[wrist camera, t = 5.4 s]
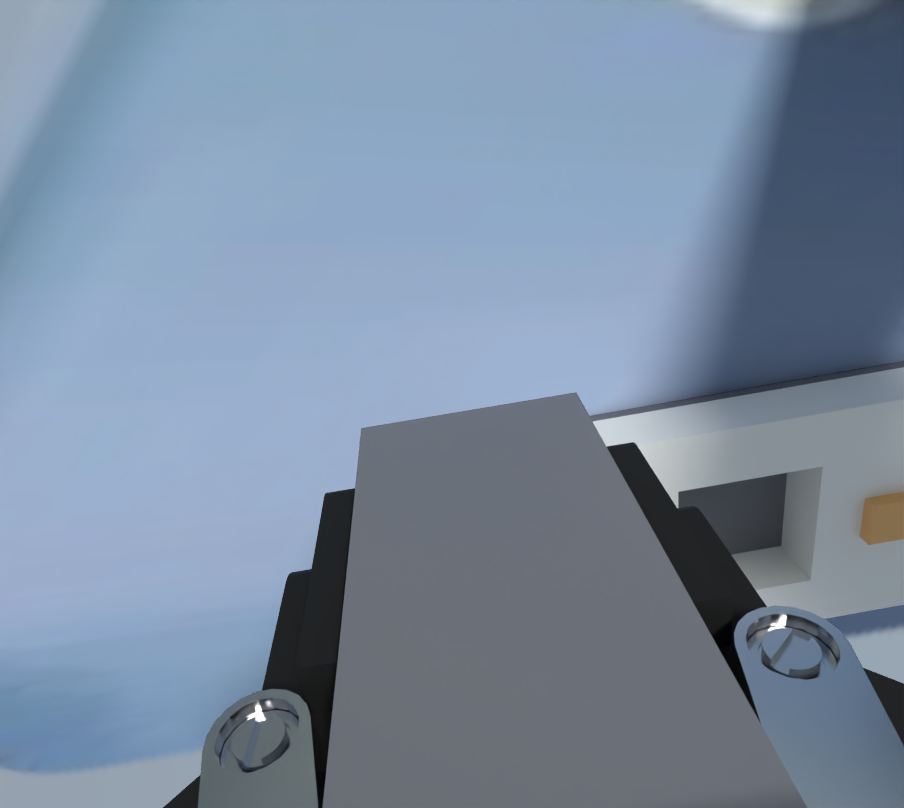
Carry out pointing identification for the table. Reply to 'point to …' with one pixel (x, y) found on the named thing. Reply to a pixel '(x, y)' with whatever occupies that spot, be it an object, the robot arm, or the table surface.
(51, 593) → the table surface
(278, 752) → the robot arm
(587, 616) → the block
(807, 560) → the switch panel
